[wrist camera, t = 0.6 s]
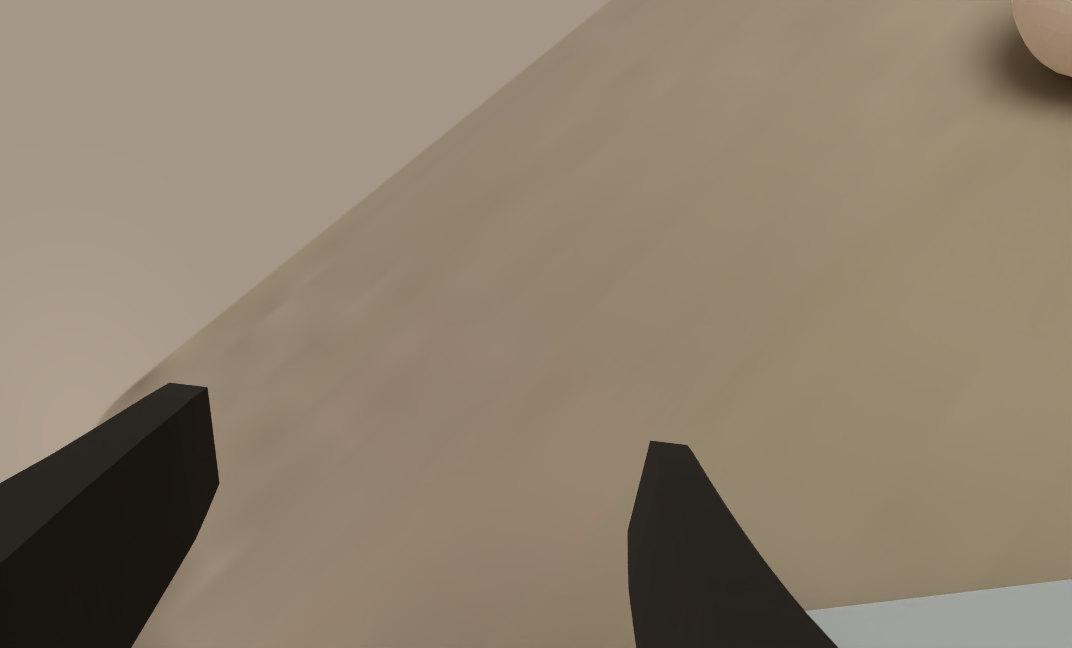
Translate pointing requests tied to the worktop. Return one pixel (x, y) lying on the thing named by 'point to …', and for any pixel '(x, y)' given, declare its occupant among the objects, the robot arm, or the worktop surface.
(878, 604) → the board
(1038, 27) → the egg
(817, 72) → the worktop surface
